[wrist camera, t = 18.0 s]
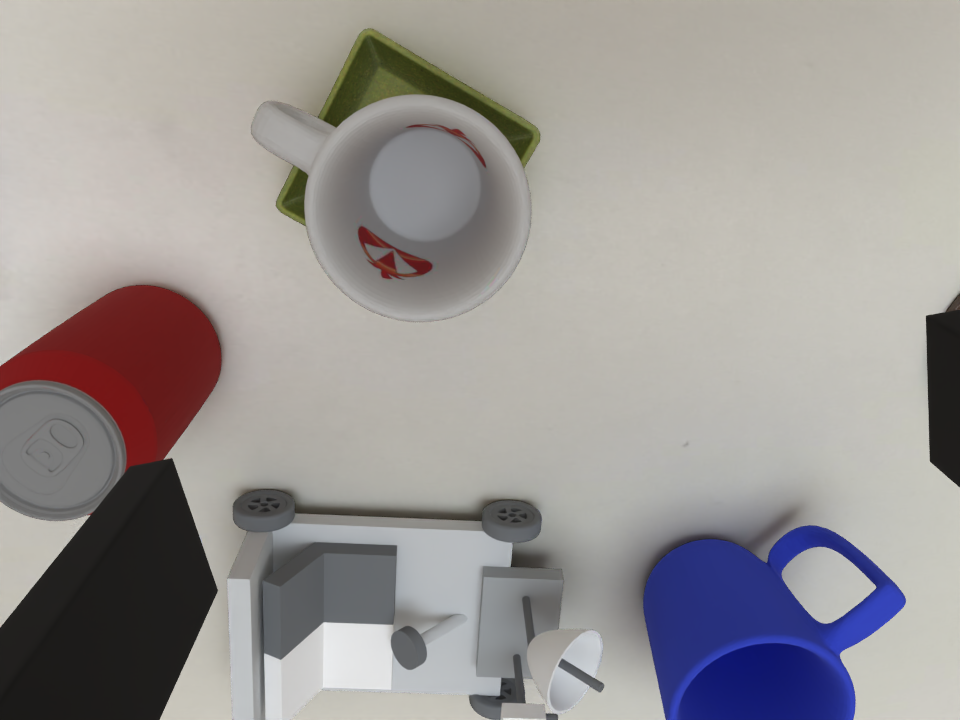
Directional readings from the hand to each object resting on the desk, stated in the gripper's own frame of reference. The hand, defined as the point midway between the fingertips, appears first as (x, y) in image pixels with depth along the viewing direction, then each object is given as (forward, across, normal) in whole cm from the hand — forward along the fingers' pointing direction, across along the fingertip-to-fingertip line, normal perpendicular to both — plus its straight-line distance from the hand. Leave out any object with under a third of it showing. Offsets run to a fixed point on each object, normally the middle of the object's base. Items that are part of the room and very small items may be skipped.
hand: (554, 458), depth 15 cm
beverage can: (+27, -17, -4) cm, 32 cm away
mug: (+27, +9, -21) cm, 35 cm away
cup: (+25, -4, +3) cm, 25 cm away
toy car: (+27, -8, -19) cm, 34 cm away
